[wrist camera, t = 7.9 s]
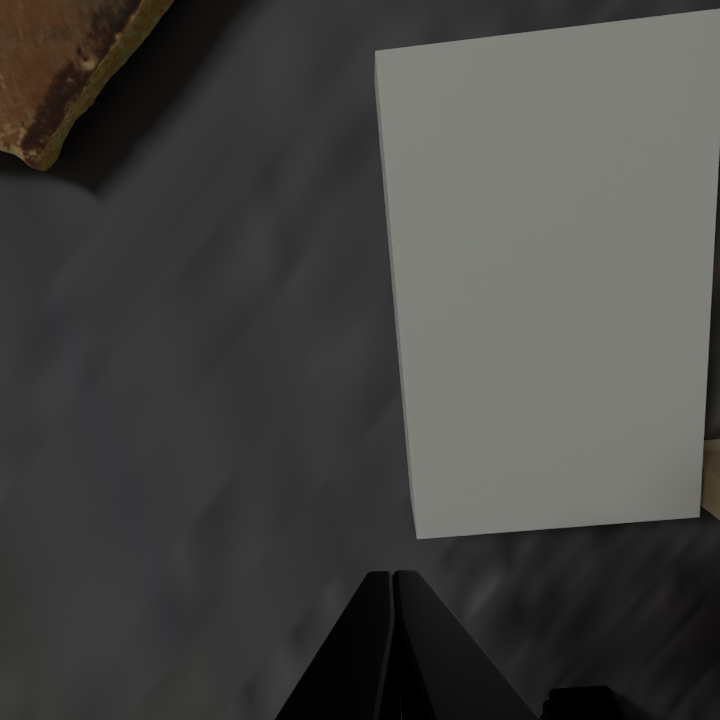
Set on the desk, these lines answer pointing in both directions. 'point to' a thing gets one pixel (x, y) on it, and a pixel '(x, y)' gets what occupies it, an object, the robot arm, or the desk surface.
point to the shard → (61, 65)
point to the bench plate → (553, 270)
